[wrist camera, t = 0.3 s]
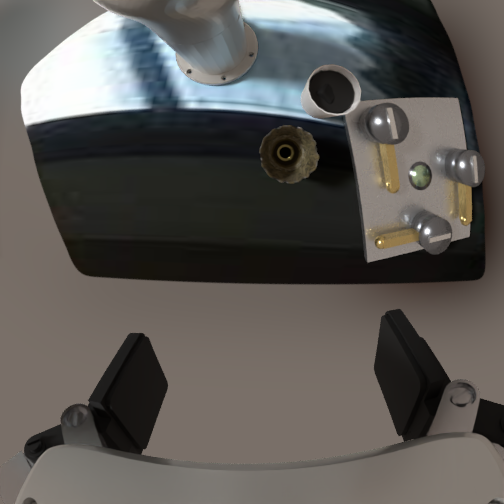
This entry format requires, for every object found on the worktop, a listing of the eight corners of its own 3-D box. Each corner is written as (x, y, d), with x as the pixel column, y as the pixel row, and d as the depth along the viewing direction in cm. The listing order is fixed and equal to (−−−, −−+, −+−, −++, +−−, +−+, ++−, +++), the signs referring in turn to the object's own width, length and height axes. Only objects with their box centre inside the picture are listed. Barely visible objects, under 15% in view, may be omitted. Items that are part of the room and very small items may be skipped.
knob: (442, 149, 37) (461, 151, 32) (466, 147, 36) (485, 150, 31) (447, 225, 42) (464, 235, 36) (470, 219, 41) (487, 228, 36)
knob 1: (355, 107, 36) (368, 103, 31) (390, 104, 35) (406, 101, 30) (371, 194, 41) (385, 201, 36) (404, 188, 40) (420, 195, 35)
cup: (312, 173, 42) (322, 180, 34) (264, 179, 42) (264, 187, 35) (306, 126, 39) (315, 122, 32) (257, 131, 40) (255, 128, 32)
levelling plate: (339, 104, 37) (342, 103, 36) (453, 98, 34) (458, 98, 33) (364, 258, 46) (367, 262, 45) (465, 234, 43) (470, 236, 42)
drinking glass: (321, 130, 39) (337, 126, 30) (288, 100, 38) (295, 88, 28) (348, 102, 37) (371, 92, 28) (316, 72, 36) (331, 54, 26)
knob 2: (436, 207, 41) (454, 216, 36) (437, 240, 43) (453, 251, 38) (368, 221, 42) (381, 232, 37) (372, 255, 45) (383, 270, 39)
